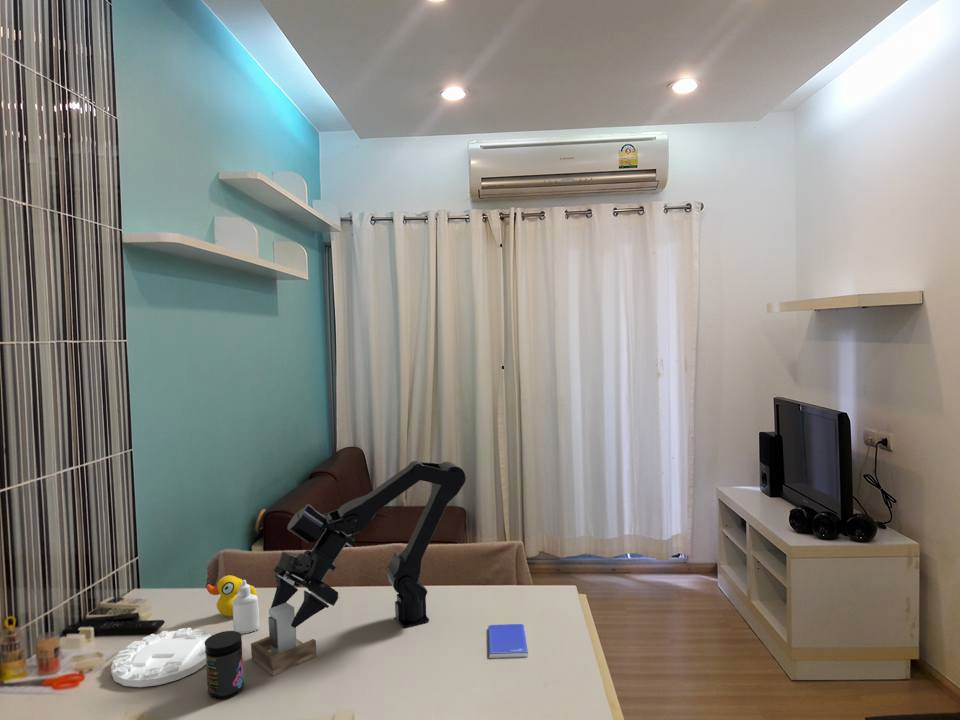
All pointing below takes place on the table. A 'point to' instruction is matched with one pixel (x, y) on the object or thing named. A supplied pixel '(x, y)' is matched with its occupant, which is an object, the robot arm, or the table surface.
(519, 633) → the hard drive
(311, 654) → the wooden tray
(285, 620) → the block
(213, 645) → the supplement container
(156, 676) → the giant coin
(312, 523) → the robot arm
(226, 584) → the duckling
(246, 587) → the eye dropper bottle
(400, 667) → the table surface
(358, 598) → the table surface
